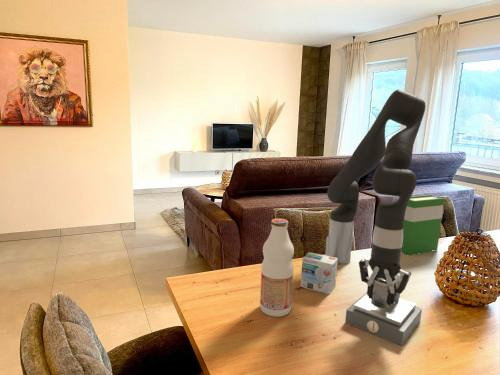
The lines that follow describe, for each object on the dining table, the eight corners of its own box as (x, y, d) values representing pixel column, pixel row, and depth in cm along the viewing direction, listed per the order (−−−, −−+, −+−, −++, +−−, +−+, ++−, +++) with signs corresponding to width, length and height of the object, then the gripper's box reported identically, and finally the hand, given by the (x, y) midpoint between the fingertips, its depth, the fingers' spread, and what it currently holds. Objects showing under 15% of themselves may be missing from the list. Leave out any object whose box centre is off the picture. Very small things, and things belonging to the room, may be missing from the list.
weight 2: (385, 293, 114) (388, 271, 113) (401, 298, 111) (404, 276, 110) (379, 298, 111) (382, 276, 109) (396, 304, 108) (398, 281, 106)
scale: (344, 323, 107) (345, 309, 106) (367, 301, 120) (369, 289, 119) (401, 346, 97) (403, 331, 96) (420, 320, 110) (422, 307, 109)
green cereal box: (423, 245, 174) (430, 194, 169) (437, 250, 167) (444, 198, 162) (394, 249, 166) (400, 197, 162) (407, 255, 160) (414, 201, 155)
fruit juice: (270, 320, 107) (275, 227, 101) (254, 305, 115) (257, 218, 109) (297, 313, 112) (303, 223, 106) (279, 298, 120) (284, 214, 114)
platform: (353, 308, 107) (354, 304, 107) (371, 292, 117) (372, 289, 116) (399, 326, 99) (400, 322, 98) (415, 307, 109) (415, 303, 108)
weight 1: (370, 298, 106) (372, 275, 105) (388, 300, 105) (390, 277, 104) (372, 306, 102) (374, 283, 100) (390, 309, 101) (393, 285, 99)
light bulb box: (299, 287, 128) (301, 257, 126) (306, 279, 134) (308, 251, 132) (330, 295, 123) (332, 264, 121) (335, 286, 129) (338, 257, 127)
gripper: (419, 245, 98) (411, 304, 102) (367, 233, 107) (361, 287, 111) (410, 253, 93) (402, 315, 96) (355, 239, 102) (350, 297, 105)
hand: (380, 300), depth 104 cm, fingers closed on weight 1, 4 cm apart
